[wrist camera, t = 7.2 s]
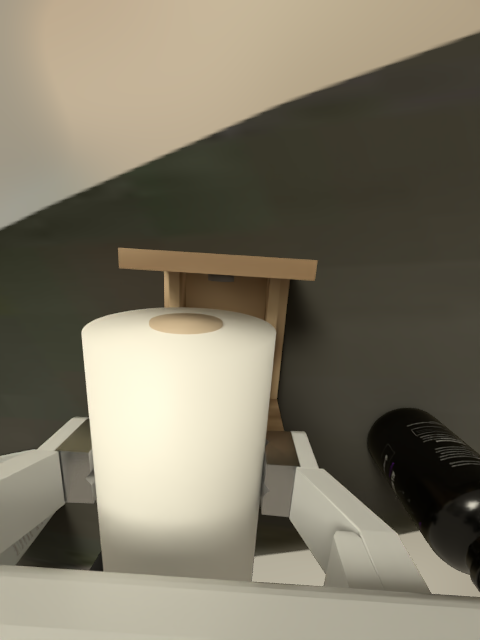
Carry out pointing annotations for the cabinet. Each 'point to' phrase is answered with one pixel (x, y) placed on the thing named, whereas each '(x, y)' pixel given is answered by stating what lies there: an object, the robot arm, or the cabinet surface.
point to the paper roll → (178, 438)
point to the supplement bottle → (433, 483)
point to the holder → (228, 290)
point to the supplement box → (21, 546)
